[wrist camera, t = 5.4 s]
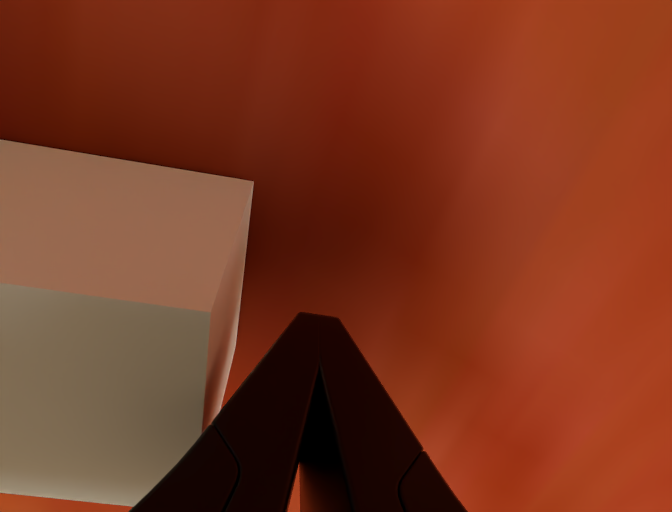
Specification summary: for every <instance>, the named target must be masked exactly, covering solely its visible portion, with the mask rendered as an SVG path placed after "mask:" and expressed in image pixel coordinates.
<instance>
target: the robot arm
mask: <svg viewBox="0 0 672 512" xmlns="http://www.w3.org/2000/svg"><path fill="white" fill-rule="evenodd" d="M298 465H299V470H300V512H468V511H467V510H466V509H465V507H464V506H463V505H462V503H461V502H460V501H459V500H458V498H457V497H456V496H455V494H454V493H453V491H452V490H451V488H450V487H449V486H448V484H447V483H446V481H445V480H444V478H443V477H442V475H441V474H440V472H439V471H438V470H437V468H436V467H435V465H434V463H433V462H432V460H431V459H430V457H429V456H428V454H427V453H426V452H425V451H423V447H422V445H421V444H420V442H419V441H418V439H417V438H416V436H415V435H414V433H413V431H412V430H411V428H410V427H409V425H408V424H407V422H406V421H405V419H404V418H403V416H402V415H401V413H400V411H399V410H398V408H397V407H396V405H395V404H394V402H393V401H392V399H391V398H390V396H389V394H388V393H387V391H386V390H385V388H384V387H383V385H382V384H381V382H380V381H379V379H378V378H377V376H376V374H375V373H374V371H373V370H372V368H371V367H370V365H369V364H368V362H367V361H366V359H365V358H364V356H363V354H362V353H361V351H360V350H359V348H358V347H357V345H356V344H355V342H354V341H353V339H352V338H351V336H350V334H349V333H348V331H347V330H346V328H345V327H344V325H343V324H342V322H341V321H340V319H339V318H337V317H332V316H325V315H318V314H312V313H305V312H300V313H298V314H297V315H296V316H295V318H294V319H293V320H292V321H291V323H290V324H289V325H288V327H287V328H286V329H285V330H284V332H283V333H282V334H281V335H280V337H279V338H278V339H277V340H276V342H275V343H274V344H273V345H272V347H271V348H270V349H269V350H268V352H267V353H266V354H265V355H264V357H263V358H262V359H261V360H260V362H259V363H258V364H257V365H256V367H255V368H254V369H253V371H252V372H251V373H250V374H249V376H248V377H247V378H246V379H245V381H244V382H243V383H242V384H241V386H240V387H239V388H238V389H237V391H236V392H235V393H234V394H233V396H232V397H231V398H230V399H229V401H228V402H227V403H226V404H225V406H224V407H223V408H222V409H221V411H220V412H219V413H218V415H217V416H216V417H215V418H214V420H213V421H212V422H211V425H209V426H208V427H207V428H206V429H205V430H204V432H203V433H202V434H201V436H200V437H199V438H198V439H197V441H196V442H195V443H194V444H193V445H192V446H191V448H190V449H189V450H188V451H187V452H186V453H185V455H184V456H183V457H182V458H181V459H180V460H179V462H178V463H177V464H176V465H175V466H174V467H173V468H172V469H171V470H170V471H169V472H168V473H167V474H166V475H165V476H164V477H163V478H162V479H161V480H160V481H159V482H158V483H157V484H156V485H155V486H154V487H153V488H152V489H151V490H150V491H149V492H148V493H147V494H146V495H145V496H144V497H143V498H142V499H141V500H140V501H139V502H138V503H137V504H136V505H135V506H134V507H133V508H132V509H131V510H130V511H129V512H288V508H289V504H290V499H291V495H292V491H293V486H294V482H295V478H296V473H297V469H298Z"/></svg>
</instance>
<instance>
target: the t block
mask: <svg viewBox="0 0 672 512" xmlns="http://www.w3.org/2000/svg"><path fill="white" fill-rule="evenodd" d="M253 185H254V181H249V180H243V179H237V178H231V177H225V176H219V175H213V174H207V173H200V172H194V171H188V170H182V169H176V168H170V167H164V166H158V165H152V164H146V163H140V162H134V161H128V160H122V159H116V158H110V157H104V156H98V155H92V154H86V153H79V152H73V151H67V150H61V149H55V148H49V147H43V146H37V145H31V144H25V143H19V142H13V141H7V140H1V139H0V493H8V494H18V495H28V496H37V497H47V498H56V499H66V500H76V501H85V502H95V503H105V504H114V505H124V506H135V505H136V504H137V503H138V502H139V501H140V500H141V499H142V498H143V497H144V496H145V495H146V494H147V493H148V492H149V491H150V490H151V489H152V488H153V487H154V486H155V485H156V484H157V483H158V482H159V481H160V480H161V479H162V478H163V477H164V476H165V475H166V474H167V473H168V472H169V471H170V470H171V469H172V468H173V467H174V466H175V465H176V464H177V463H178V462H179V460H180V459H181V458H182V457H183V456H184V455H185V453H186V452H187V451H188V450H189V449H190V448H191V446H192V445H193V444H194V443H195V442H196V441H197V439H198V438H199V437H200V436H201V434H202V433H203V432H204V430H205V429H206V428H207V427H208V426H209V425H211V422H212V421H213V420H214V418H215V417H216V416H217V415H218V413H219V412H220V409H221V405H222V401H223V397H224V393H225V389H226V384H227V380H228V376H229V372H230V368H231V364H232V359H233V355H234V351H235V347H236V339H237V330H238V321H239V312H240V303H241V294H242V285H243V276H244V267H245V258H246V248H247V239H248V230H249V221H250V212H251V203H252V194H253Z"/></svg>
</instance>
